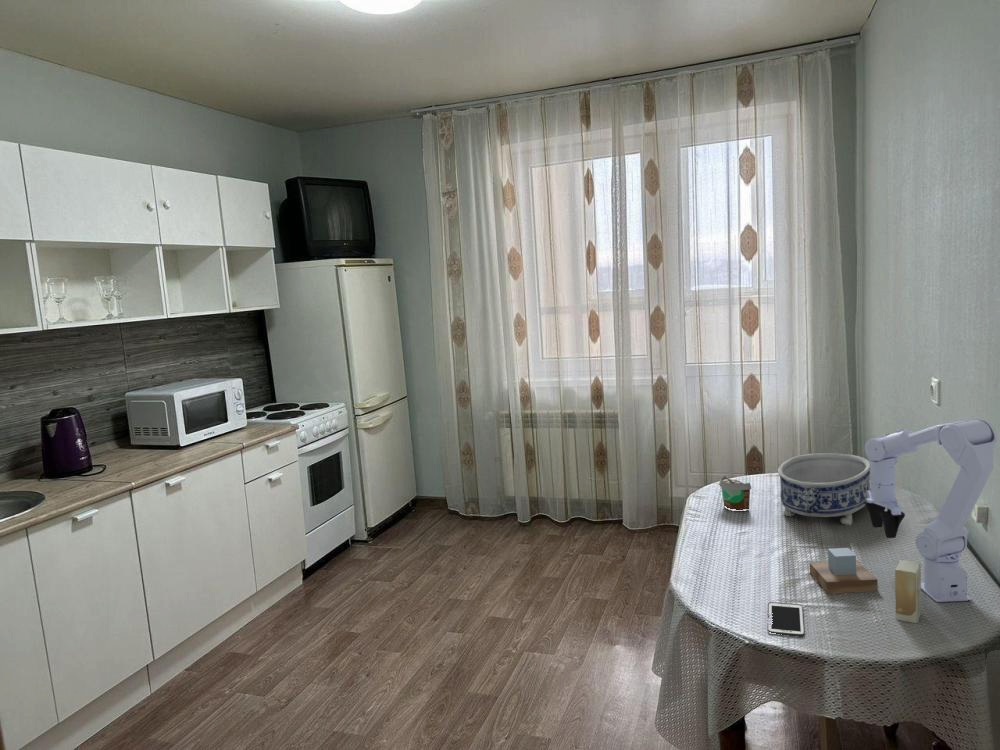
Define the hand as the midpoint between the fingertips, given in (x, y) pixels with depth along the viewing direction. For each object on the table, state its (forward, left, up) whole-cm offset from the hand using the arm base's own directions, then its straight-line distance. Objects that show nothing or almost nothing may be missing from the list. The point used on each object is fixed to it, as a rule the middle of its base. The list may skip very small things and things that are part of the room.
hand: (884, 532), depth 184 cm
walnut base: (-8, +14, -9) cm, 19 cm away
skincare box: (-27, +7, -10) cm, 29 cm away
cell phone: (-26, +34, -10) cm, 44 cm away
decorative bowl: (+46, -2, -10) cm, 47 cm away
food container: (+51, +27, -10) cm, 58 cm away
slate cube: (-8, +14, -6) cm, 17 cm away
